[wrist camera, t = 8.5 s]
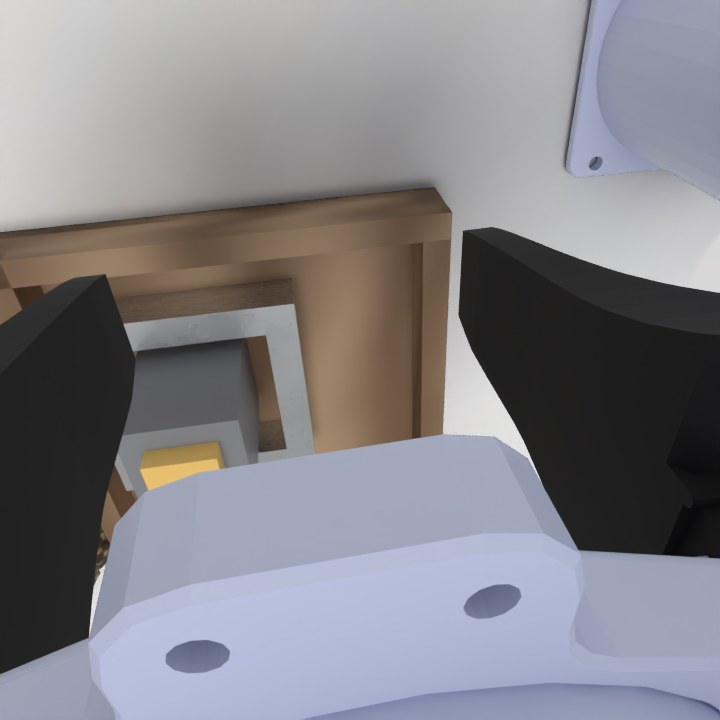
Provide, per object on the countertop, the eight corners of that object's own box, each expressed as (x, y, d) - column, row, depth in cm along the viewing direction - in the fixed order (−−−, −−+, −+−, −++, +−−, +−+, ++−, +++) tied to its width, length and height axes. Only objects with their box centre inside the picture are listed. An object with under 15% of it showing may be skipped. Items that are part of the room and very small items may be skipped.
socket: (291, 277, 22) (294, 303, 21) (313, 433, 27) (316, 464, 26) (70, 303, 22) (55, 331, 20) (134, 458, 27) (126, 490, 25)
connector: (243, 321, 23) (237, 437, 18) (258, 397, 26) (258, 519, 20) (142, 333, 23) (105, 455, 18) (168, 408, 25) (142, 536, 20)
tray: (434, 187, 22) (452, 212, 20) (427, 500, 32) (438, 536, 30) (-5, 233, 20) (-34, 264, 18) (139, 542, 31) (130, 583, 29)
